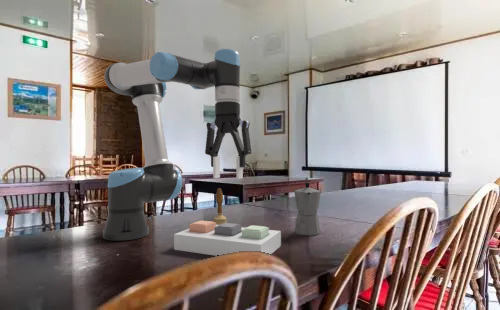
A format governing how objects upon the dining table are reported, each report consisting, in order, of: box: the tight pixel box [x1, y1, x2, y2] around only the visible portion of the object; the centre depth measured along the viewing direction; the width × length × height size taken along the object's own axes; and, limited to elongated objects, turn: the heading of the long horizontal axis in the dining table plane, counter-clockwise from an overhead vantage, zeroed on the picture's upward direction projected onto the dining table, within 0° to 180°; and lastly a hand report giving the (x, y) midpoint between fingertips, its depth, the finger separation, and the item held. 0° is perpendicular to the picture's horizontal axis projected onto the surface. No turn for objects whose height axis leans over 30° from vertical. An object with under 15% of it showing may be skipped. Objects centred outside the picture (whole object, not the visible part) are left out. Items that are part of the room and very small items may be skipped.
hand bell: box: [213, 187, 228, 225], centre depth 115 cm, size 8×8×16 cm
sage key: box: [242, 224, 270, 240], centre depth 92 cm, size 6×6×3 cm
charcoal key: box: [215, 222, 242, 236], centre depth 96 cm, size 6×6×3 cm
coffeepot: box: [293, 182, 322, 236], centre depth 115 cm, size 15×9×18 cm, turn 174°
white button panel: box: [173, 225, 282, 257], centre depth 96 cm, size 28×16×5 cm, turn 66°
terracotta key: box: [188, 220, 216, 233], centre depth 99 cm, size 6×6×3 cm
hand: (227, 178), depth 96 cm, fingers open, 7 cm apart
